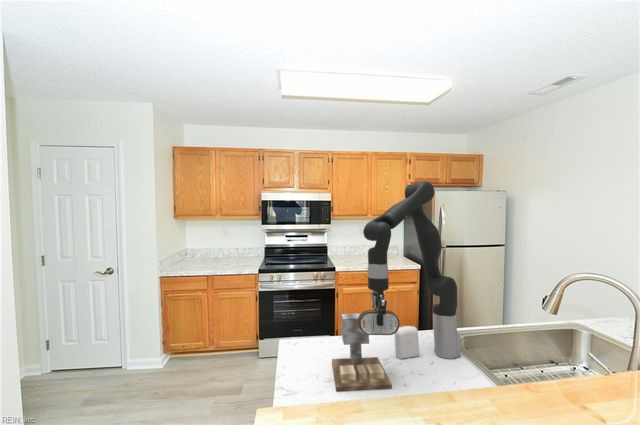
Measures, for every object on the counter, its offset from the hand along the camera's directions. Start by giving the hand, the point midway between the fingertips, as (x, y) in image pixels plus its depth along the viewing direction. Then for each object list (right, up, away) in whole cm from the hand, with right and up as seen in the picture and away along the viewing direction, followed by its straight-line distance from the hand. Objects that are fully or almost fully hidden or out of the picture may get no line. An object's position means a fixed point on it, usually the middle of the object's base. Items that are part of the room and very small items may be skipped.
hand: (379, 323), depth 99 cm
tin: (0, -4, -1) cm, 4 cm away
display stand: (-7, -20, +3) cm, 22 cm away
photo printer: (+16, -21, +17) cm, 31 cm away
